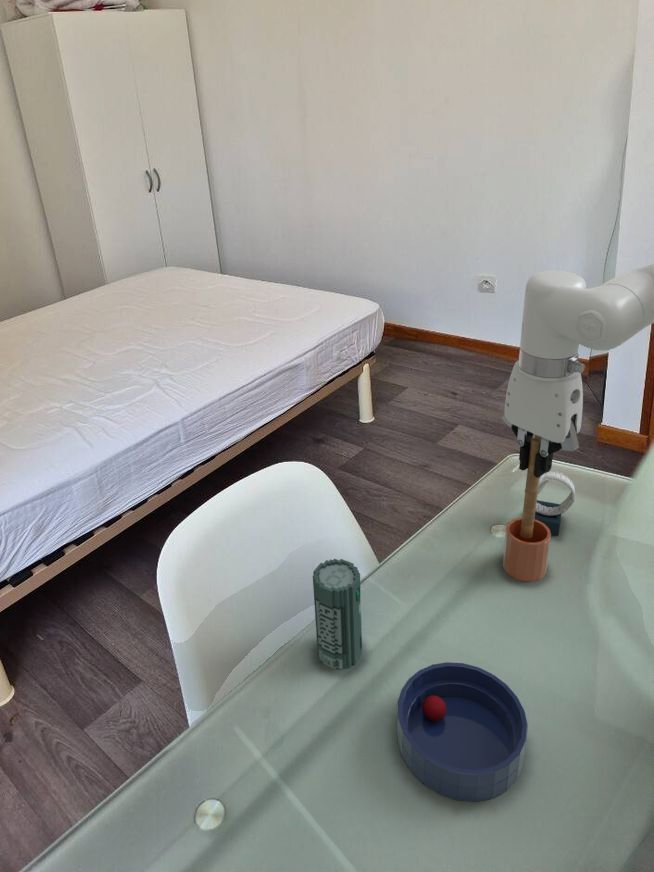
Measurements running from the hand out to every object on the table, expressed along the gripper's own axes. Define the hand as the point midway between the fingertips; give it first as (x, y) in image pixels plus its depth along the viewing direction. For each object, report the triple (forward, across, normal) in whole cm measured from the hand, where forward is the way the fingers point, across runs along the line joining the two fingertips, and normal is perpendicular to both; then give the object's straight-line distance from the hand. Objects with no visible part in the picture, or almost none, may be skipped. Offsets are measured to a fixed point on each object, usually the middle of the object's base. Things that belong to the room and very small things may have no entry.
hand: (534, 469), depth 104 cm
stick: (+13, 0, 0) cm, 13 cm away
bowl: (+20, -13, +32) cm, 40 cm away
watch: (+20, +4, -12) cm, 23 cm away
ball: (+16, -9, +32) cm, 37 cm away
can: (+20, +7, +34) cm, 40 cm away
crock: (+20, 0, 0) cm, 20 cm away
